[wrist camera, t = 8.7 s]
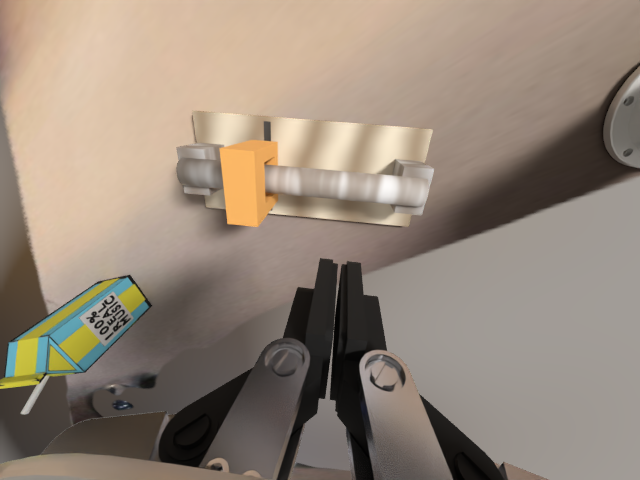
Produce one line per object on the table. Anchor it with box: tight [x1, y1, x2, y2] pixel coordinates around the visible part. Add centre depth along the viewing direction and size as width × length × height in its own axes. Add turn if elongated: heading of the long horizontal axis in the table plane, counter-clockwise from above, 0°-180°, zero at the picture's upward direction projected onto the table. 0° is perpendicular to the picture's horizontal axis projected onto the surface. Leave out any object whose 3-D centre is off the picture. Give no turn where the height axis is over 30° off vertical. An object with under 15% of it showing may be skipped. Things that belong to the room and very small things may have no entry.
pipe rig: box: [176, 111, 434, 227], centre depth 29 cm, size 28×12×8 cm, turn 86°
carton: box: [0, 275, 152, 414], centre depth 37 cm, size 7×8×18 cm
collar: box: [219, 140, 278, 227], centre depth 26 cm, size 3×7×8 cm, turn 176°
